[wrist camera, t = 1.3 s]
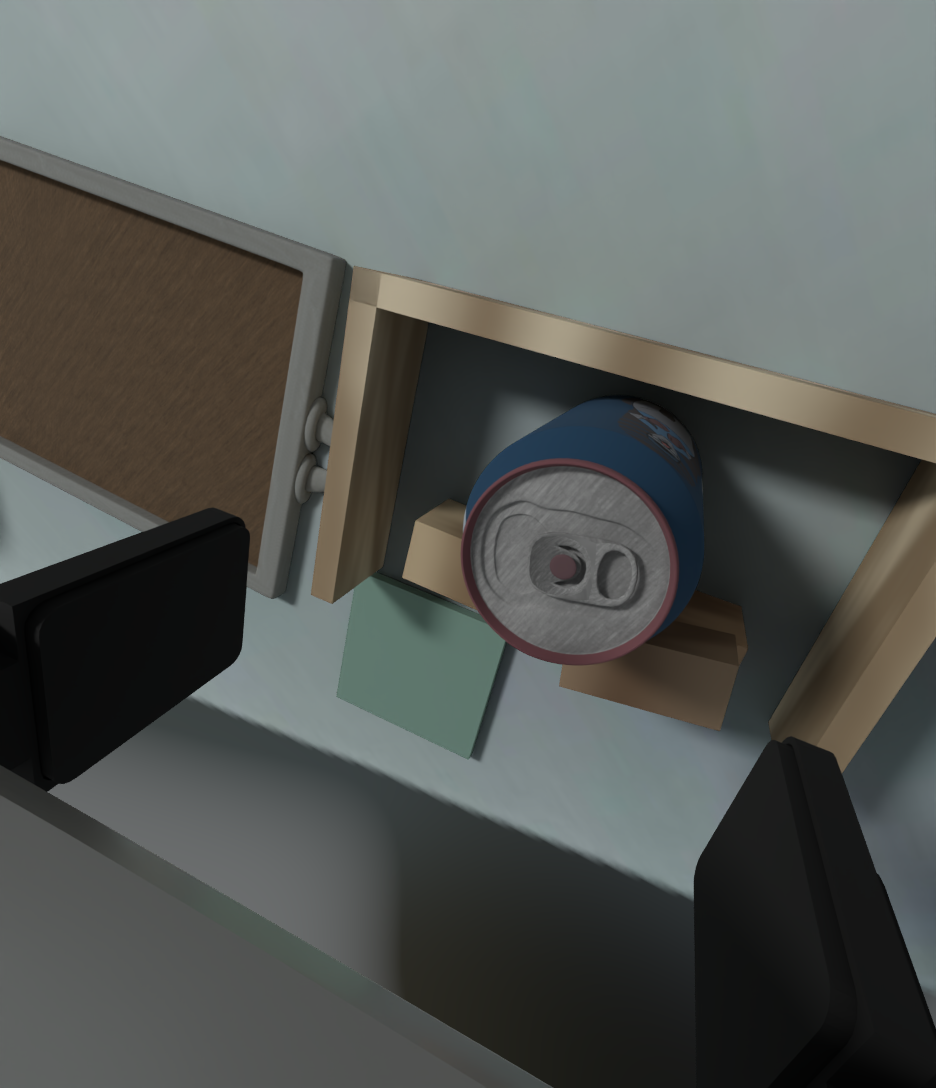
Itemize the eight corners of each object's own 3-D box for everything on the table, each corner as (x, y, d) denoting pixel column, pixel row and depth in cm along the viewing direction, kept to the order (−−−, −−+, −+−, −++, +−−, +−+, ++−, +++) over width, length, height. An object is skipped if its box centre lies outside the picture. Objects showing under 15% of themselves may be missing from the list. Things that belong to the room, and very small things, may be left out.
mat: (511, 627, 30) (508, 632, 29) (472, 753, 34) (468, 759, 33) (363, 566, 32) (357, 570, 32) (341, 691, 36) (336, 696, 35)
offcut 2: (740, 605, 25) (748, 648, 22) (714, 659, 27) (716, 708, 23) (590, 551, 27) (574, 583, 24) (571, 604, 28) (554, 641, 25)
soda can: (535, 533, 28) (435, 653, 17) (549, 386, 25) (443, 421, 15) (685, 558, 26) (677, 714, 15) (717, 399, 23) (734, 453, 12)
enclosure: (984, 426, 20) (1063, 451, 16) (795, 733, 26) (814, 812, 22) (412, 277, 26) (353, 265, 21) (364, 559, 32) (310, 594, 27)
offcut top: (735, 634, 22) (739, 666, 20) (717, 695, 23) (719, 731, 21) (580, 599, 24) (569, 624, 22) (571, 656, 25) (558, 686, 23)
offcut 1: (580, 549, 27) (563, 580, 24) (560, 600, 29) (541, 638, 25) (450, 497, 29) (415, 520, 25) (436, 549, 30) (402, 577, 27)
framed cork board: (-81, 108, 32) (384, 274, 25) (-48, 118, 33) (401, 278, 27) (-48, 433, 40) (309, 621, 33) (-23, 430, 41) (325, 609, 35)
